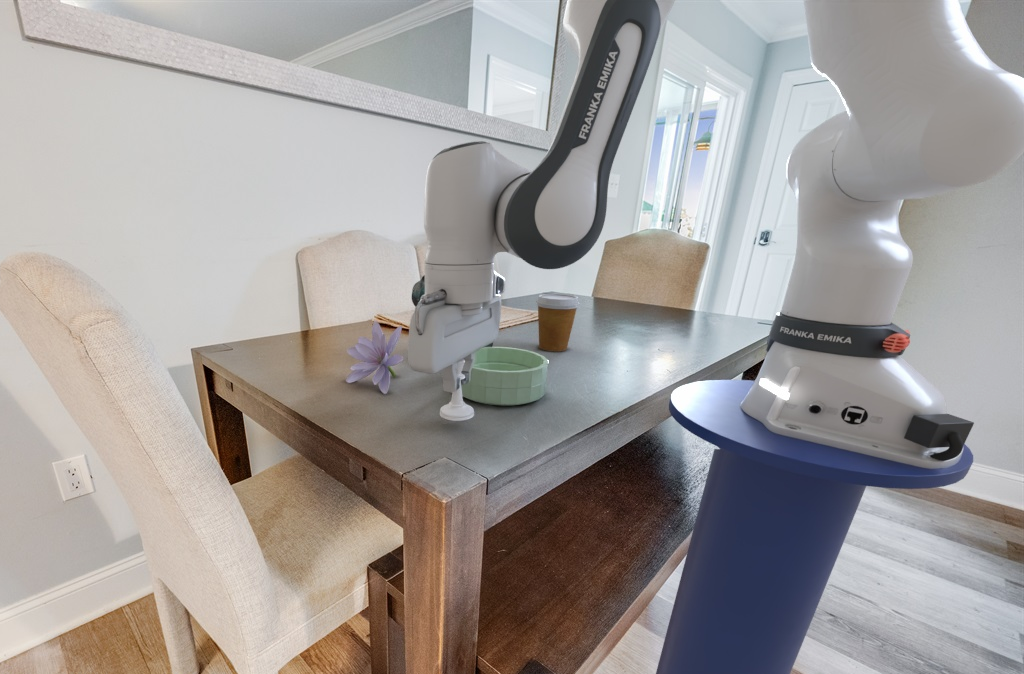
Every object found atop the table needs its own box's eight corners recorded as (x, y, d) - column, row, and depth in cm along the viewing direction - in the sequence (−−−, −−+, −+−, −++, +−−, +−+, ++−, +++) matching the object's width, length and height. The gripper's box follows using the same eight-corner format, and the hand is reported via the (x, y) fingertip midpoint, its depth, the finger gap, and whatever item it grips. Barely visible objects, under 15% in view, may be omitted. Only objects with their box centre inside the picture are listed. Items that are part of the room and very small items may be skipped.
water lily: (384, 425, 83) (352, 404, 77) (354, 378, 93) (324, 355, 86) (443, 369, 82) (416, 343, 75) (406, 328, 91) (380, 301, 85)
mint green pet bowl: (563, 394, 79) (567, 360, 77) (500, 416, 70) (503, 378, 68) (497, 372, 90) (499, 342, 88) (435, 388, 82) (436, 355, 79)
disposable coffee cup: (582, 349, 107) (589, 297, 103) (554, 355, 102) (560, 301, 98) (550, 341, 114) (556, 292, 110) (523, 346, 109) (527, 295, 105)
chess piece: (439, 407, 68) (439, 341, 65) (472, 407, 68) (474, 341, 64) (439, 421, 64) (439, 350, 60) (475, 421, 63) (477, 350, 60)
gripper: (441, 298, 50) (440, 416, 55) (510, 278, 66) (505, 371, 71) (392, 294, 53) (396, 406, 58) (470, 276, 69) (468, 365, 74)
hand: (457, 386), depth 64 cm, fingers closed on chess piece
